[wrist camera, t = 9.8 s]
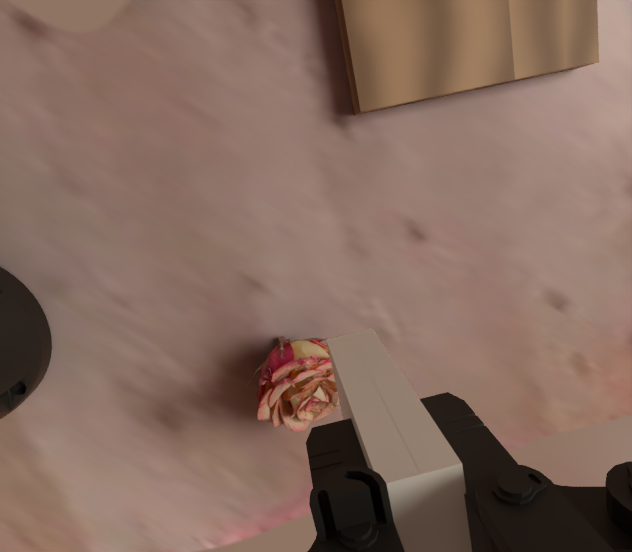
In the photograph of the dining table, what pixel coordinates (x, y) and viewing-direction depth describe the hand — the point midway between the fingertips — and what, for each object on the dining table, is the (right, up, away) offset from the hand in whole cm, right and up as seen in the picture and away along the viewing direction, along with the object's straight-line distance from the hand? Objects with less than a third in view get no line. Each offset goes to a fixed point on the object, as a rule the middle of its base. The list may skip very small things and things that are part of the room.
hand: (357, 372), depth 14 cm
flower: (-3, -5, +29) cm, 29 cm away
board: (+10, +26, +22) cm, 36 cm away
